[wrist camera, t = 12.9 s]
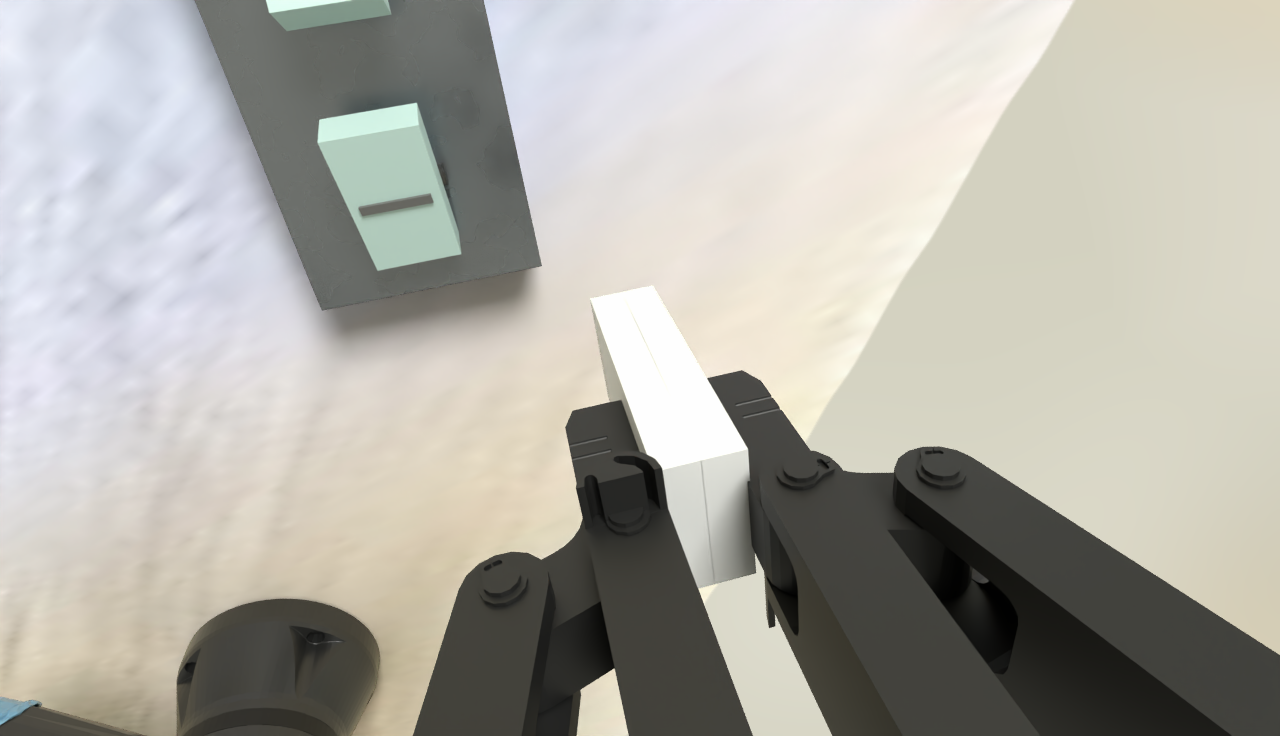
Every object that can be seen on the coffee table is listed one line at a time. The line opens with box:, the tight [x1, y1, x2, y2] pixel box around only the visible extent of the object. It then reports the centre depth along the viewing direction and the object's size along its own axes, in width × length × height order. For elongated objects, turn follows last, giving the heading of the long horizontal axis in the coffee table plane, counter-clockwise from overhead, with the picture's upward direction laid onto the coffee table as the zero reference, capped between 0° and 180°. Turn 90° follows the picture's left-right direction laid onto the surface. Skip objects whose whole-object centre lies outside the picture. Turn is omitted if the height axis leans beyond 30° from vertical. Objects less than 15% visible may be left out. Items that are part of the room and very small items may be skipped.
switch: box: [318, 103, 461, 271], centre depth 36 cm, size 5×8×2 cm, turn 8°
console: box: [195, 0, 542, 310], centre depth 36 cm, size 13×25×6 cm, turn 8°
